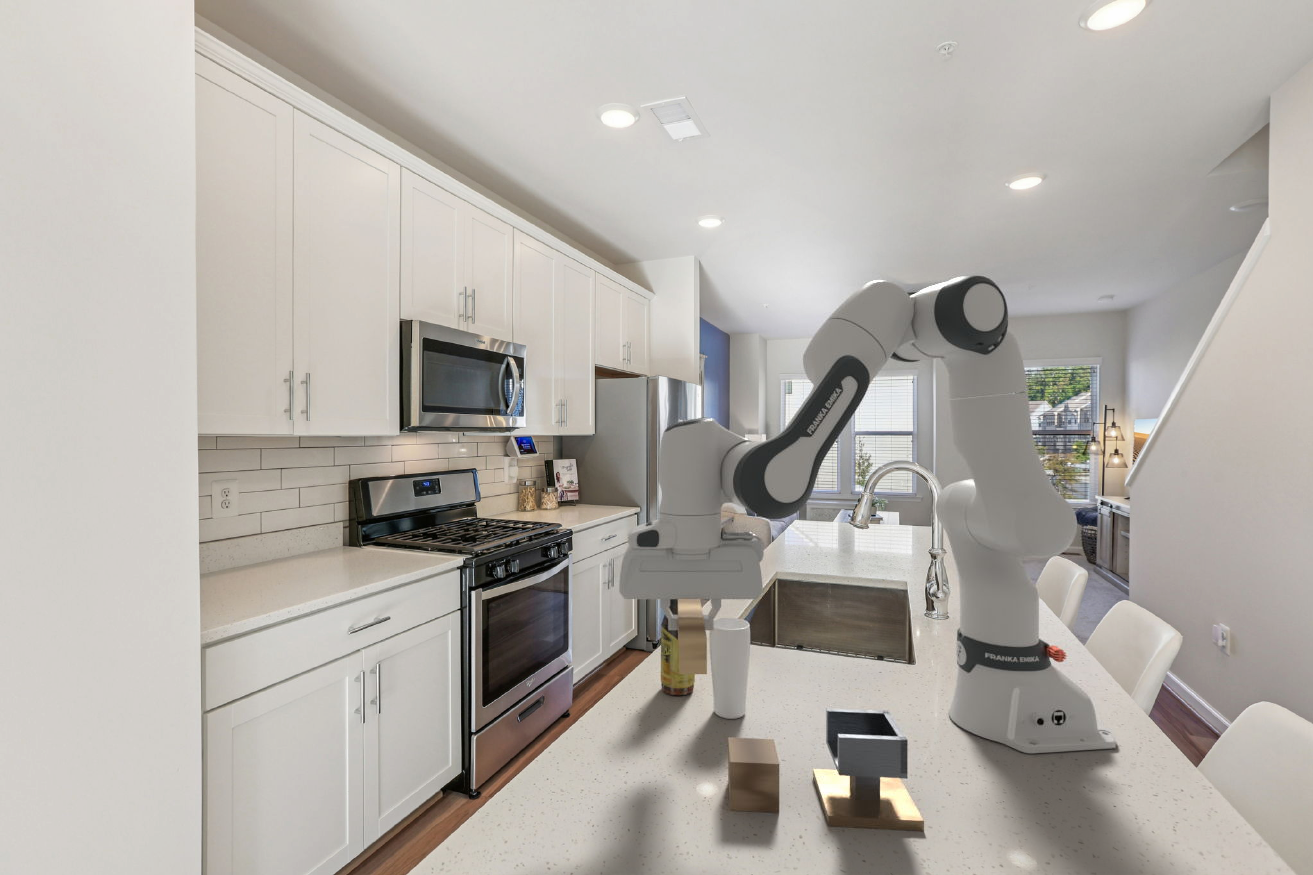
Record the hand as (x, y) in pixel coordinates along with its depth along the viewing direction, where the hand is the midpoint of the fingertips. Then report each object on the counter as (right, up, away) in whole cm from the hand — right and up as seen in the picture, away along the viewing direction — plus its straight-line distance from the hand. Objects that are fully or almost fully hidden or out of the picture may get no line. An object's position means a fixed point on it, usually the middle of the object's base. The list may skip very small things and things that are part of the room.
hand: (690, 629), depth 85 cm
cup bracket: (+21, -19, -10) cm, 30 cm away
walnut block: (+7, -19, -8) cm, 22 cm away
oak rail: (0, -2, 0) cm, 2 cm away
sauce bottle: (-1, -19, +23) cm, 30 cm away
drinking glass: (+7, -19, +15) cm, 25 cm away
